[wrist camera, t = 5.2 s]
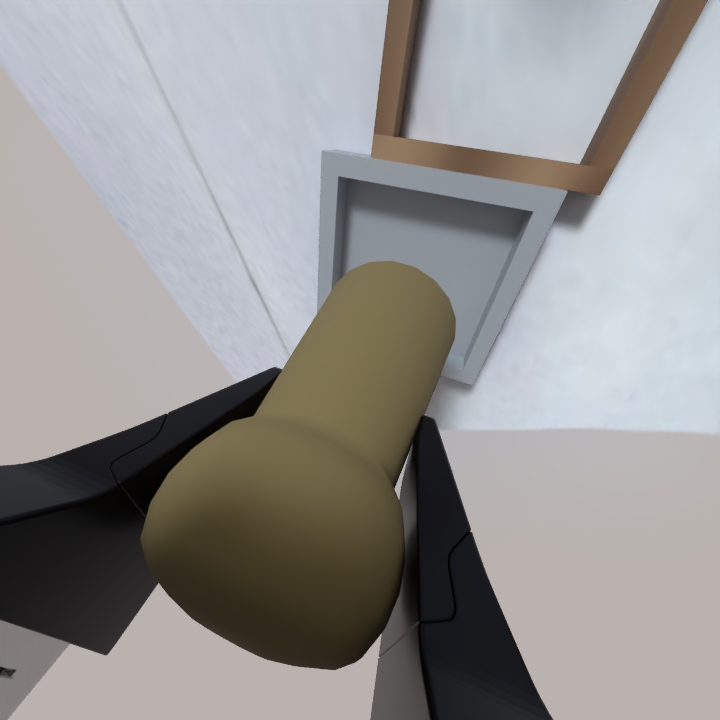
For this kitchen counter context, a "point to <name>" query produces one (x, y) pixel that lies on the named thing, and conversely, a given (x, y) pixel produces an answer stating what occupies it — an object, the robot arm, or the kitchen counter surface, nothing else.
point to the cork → (310, 481)
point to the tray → (436, 238)
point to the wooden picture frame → (590, 176)
